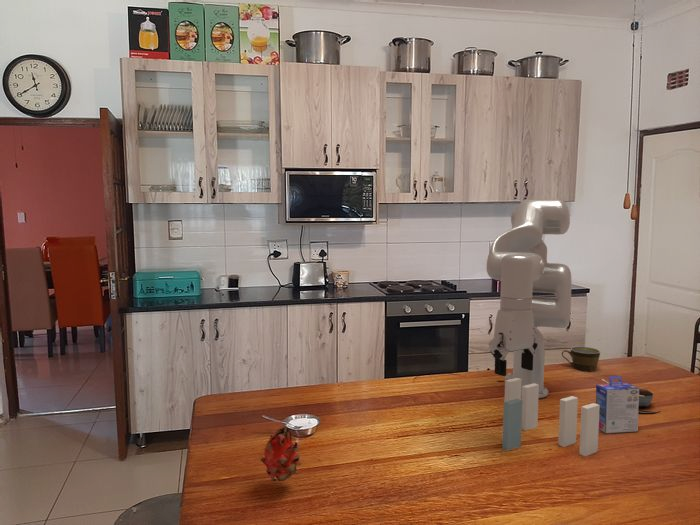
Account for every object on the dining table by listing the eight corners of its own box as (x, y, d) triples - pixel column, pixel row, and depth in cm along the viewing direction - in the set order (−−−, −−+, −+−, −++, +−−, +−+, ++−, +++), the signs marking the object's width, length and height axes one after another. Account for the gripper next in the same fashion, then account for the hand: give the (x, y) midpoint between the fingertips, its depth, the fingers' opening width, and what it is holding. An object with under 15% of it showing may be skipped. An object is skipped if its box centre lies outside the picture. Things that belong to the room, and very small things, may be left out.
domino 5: (579, 453, 126) (581, 406, 125) (591, 449, 129) (593, 403, 128) (585, 456, 125) (587, 408, 124) (597, 451, 128) (599, 404, 127)
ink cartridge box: (625, 424, 145) (627, 374, 144) (639, 432, 140) (641, 380, 138) (593, 426, 144) (595, 375, 142) (605, 434, 138) (608, 381, 137)
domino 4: (558, 444, 131) (560, 399, 130) (570, 440, 134) (572, 395, 133) (563, 447, 130) (565, 401, 129) (575, 442, 133) (577, 397, 132)
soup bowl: (641, 421, 148) (642, 396, 147) (592, 403, 162) (593, 380, 161) (671, 412, 155) (673, 388, 154) (622, 396, 169) (623, 374, 168)
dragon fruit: (266, 494, 107) (266, 439, 106) (256, 476, 115) (256, 424, 114) (305, 486, 111) (305, 432, 110) (293, 468, 118) (292, 418, 117)
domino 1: (503, 421, 147) (505, 380, 146) (515, 417, 149) (517, 377, 148) (508, 423, 145) (509, 381, 144) (520, 419, 148) (521, 379, 147)
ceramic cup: (597, 374, 192) (598, 348, 191) (601, 381, 183) (602, 354, 182) (560, 370, 196) (561, 345, 196) (561, 378, 187) (562, 351, 186)
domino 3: (520, 428, 142) (522, 386, 141) (532, 424, 144) (534, 383, 143) (525, 430, 140) (526, 387, 139) (537, 426, 143) (538, 384, 142)
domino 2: (502, 448, 129) (503, 402, 128) (515, 443, 132) (517, 398, 131) (507, 450, 128) (508, 404, 127) (520, 446, 130) (522, 400, 129)
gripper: (527, 299, 134) (524, 363, 136) (479, 304, 125) (477, 373, 127) (551, 303, 128) (549, 370, 129) (503, 309, 119) (501, 381, 120)
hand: (513, 371), depth 128 cm, fingers open, 9 cm apart
